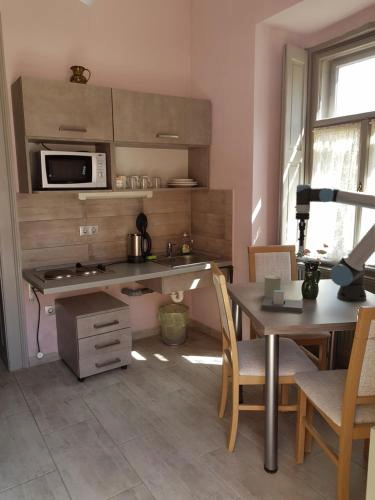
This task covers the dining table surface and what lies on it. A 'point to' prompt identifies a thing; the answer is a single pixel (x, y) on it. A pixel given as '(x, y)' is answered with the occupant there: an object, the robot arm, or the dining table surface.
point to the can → (271, 285)
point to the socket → (287, 307)
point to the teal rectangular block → (278, 297)
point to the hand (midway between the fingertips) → (301, 250)
